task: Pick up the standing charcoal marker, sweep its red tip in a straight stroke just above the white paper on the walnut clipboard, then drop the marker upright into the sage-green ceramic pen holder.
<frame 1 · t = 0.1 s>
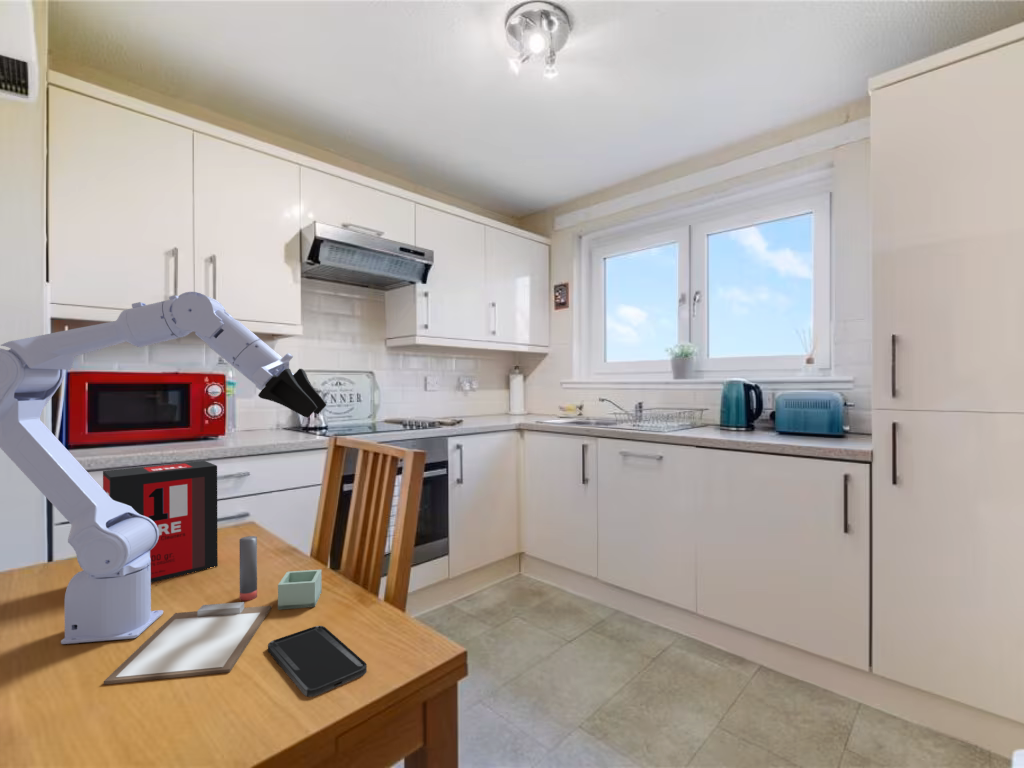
hand: (317, 411, 79), 32 cm above the table, tool tilted 50°, fingers open, 7 cm apart
phone: (315, 664, 66), on the table
pen holder: (300, 600, 83), on the table
clipboard: (199, 640, 70), on the table
marker: (248, 597, 84), on the table
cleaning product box: (162, 573, 96), on the table
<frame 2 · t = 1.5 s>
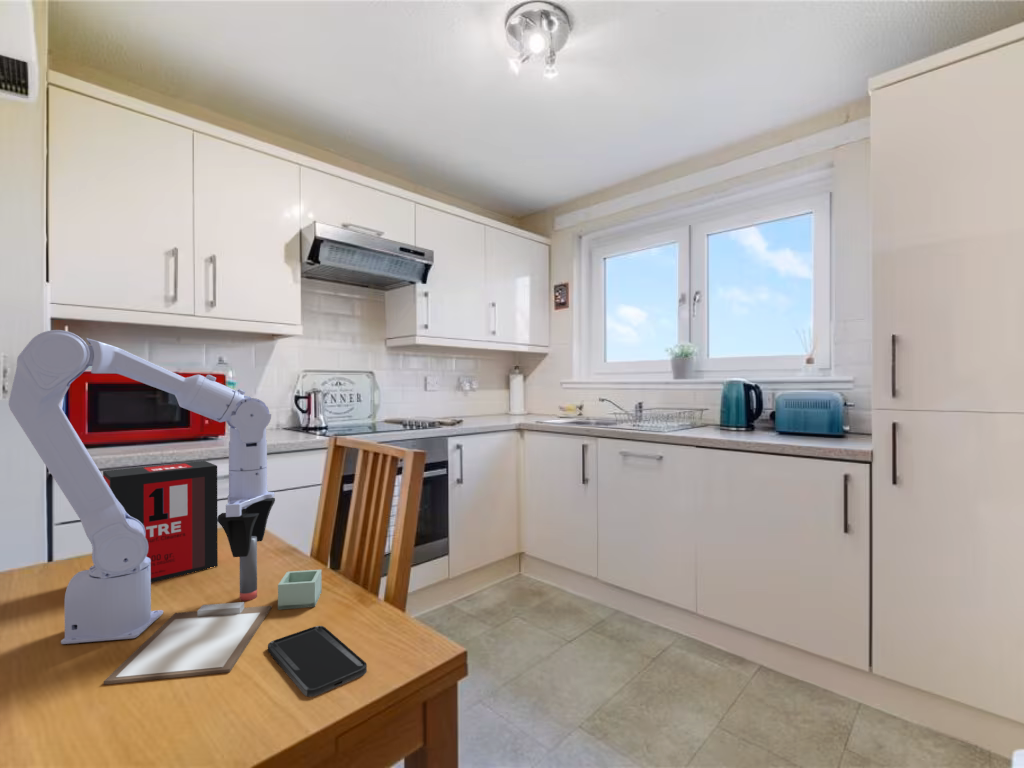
hand: (248, 548, 84), 8 cm above the table, tool pointing down, fingers open, 7 cm apart
nothing on the table moved.
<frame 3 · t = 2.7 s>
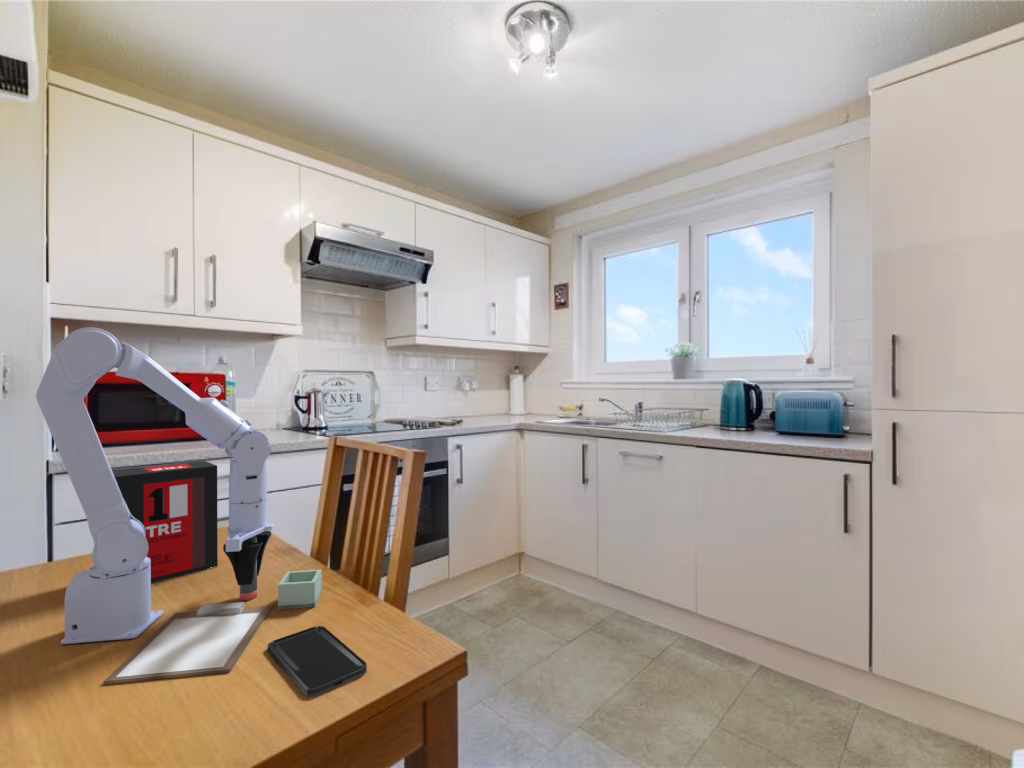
hand: (248, 580, 84), 3 cm above the table, tool pointing down, fingers closed on marker, 3 cm apart
marker: (248, 597, 84), on the table, touching gripper
everything else where it was.
when the fingers open (5 cm above the table, at t = 10.5 s): marker drops 1 cm, resting on pen holder.
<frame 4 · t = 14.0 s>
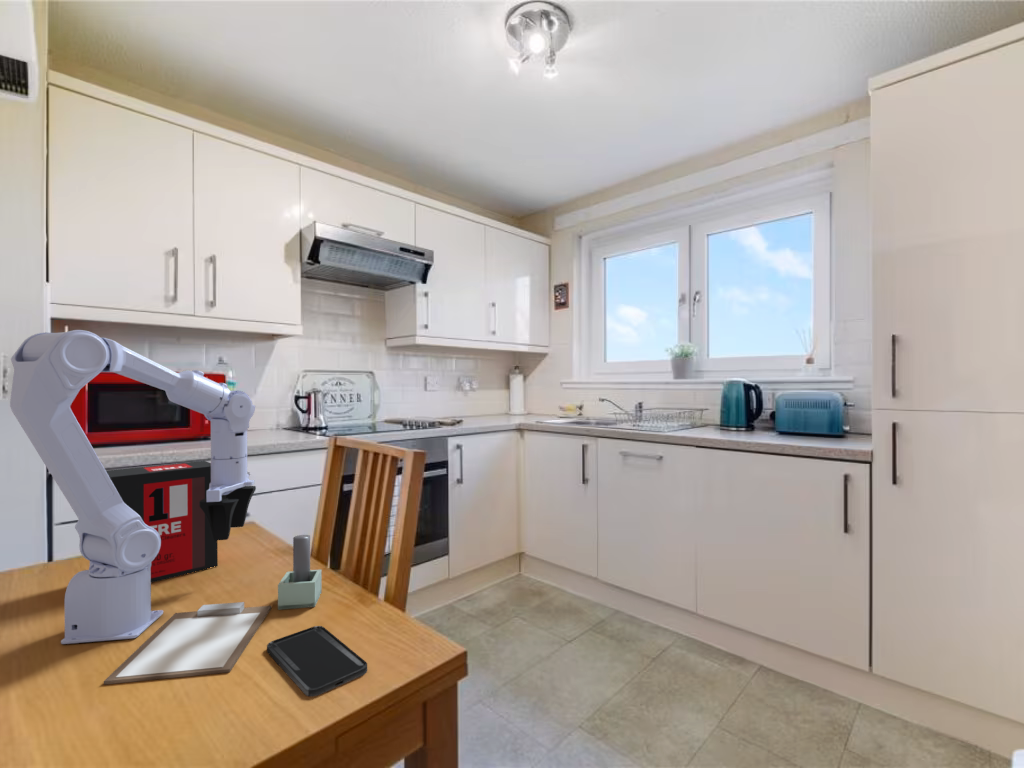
hand: (229, 532, 89), 9 cm above the table, tool pointing down, fingers open, 7 cm apart
marker: (301, 597, 83), point 1 cm above the table, touching pen holder
everything else where it was.
at the end: marker 0.2 cm off-centre on the pen holder, point 0.6 cm above the pen holder's base; marker tilted 0°; the gripper is holding nothing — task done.
